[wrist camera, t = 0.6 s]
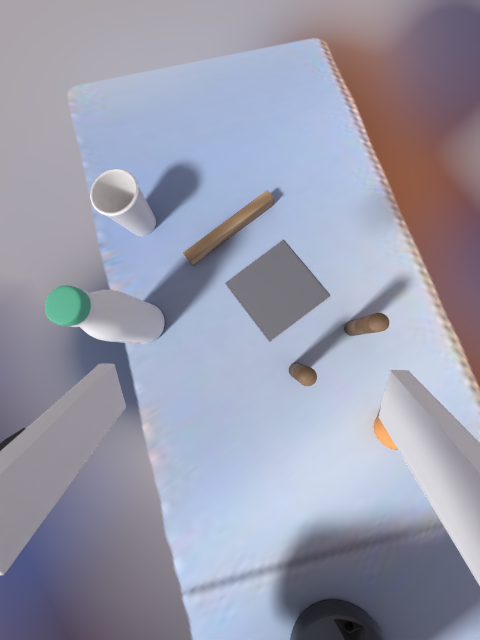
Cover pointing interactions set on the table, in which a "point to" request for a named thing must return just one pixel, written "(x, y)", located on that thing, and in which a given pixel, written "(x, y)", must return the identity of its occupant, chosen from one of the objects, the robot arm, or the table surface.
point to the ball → (383, 434)
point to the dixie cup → (123, 201)
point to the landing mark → (277, 290)
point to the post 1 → (303, 374)
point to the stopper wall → (229, 227)
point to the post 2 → (367, 324)
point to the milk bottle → (105, 314)
